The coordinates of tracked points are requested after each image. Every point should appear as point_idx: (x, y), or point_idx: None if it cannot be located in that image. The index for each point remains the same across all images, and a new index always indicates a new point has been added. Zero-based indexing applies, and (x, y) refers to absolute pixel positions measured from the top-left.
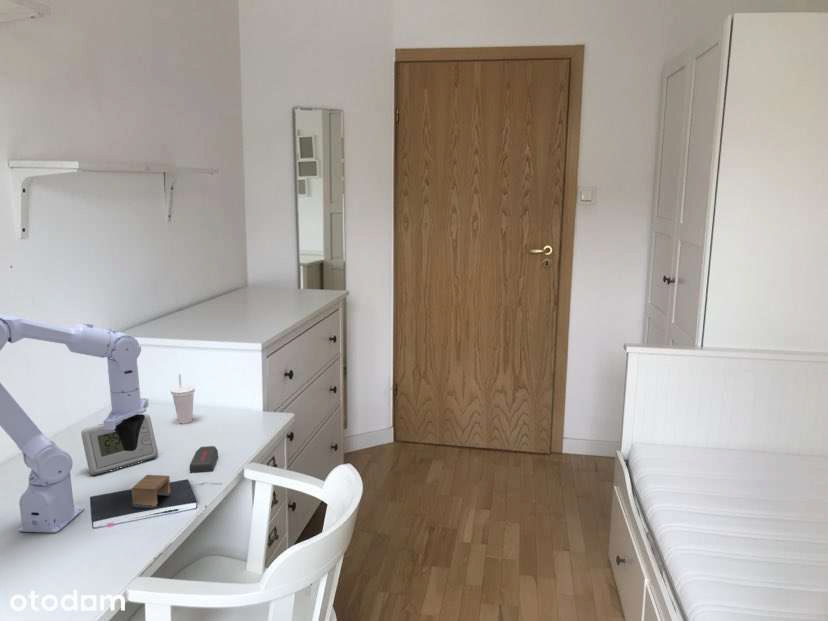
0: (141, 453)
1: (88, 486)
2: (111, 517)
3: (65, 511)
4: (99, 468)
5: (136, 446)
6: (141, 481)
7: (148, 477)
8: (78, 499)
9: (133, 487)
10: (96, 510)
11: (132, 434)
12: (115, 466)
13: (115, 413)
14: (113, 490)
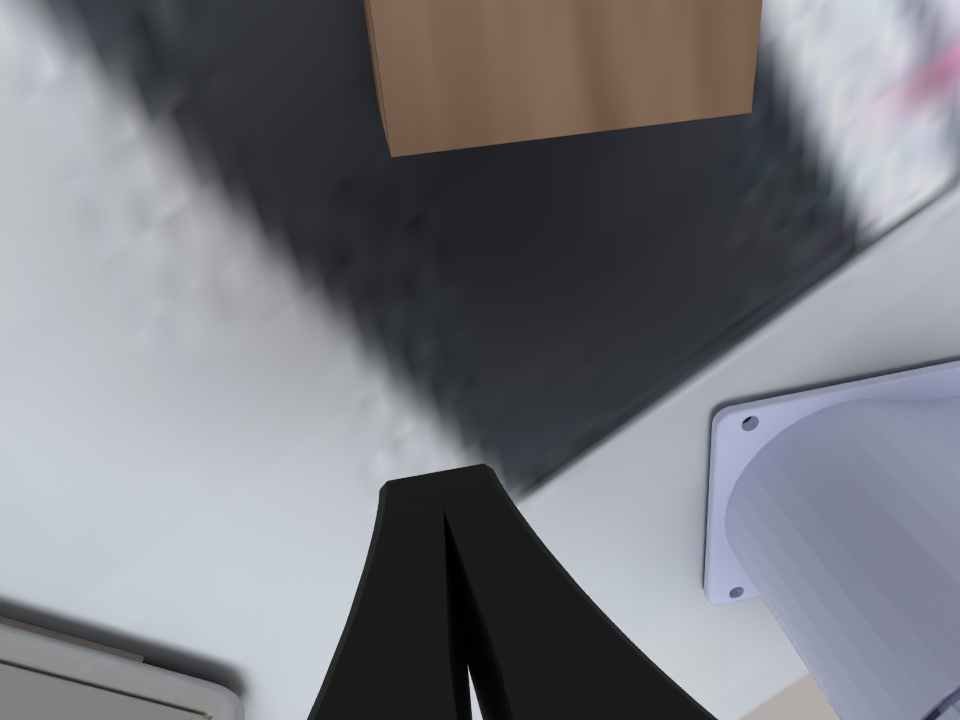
0: None
1: None
2: (821, 147)
3: (928, 435)
4: (195, 708)
5: (403, 498)
6: (577, 104)
7: (458, 88)
8: (567, 539)
9: (738, 95)
10: (711, 331)
11: (700, 711)
12: (83, 656)
13: None
14: (396, 431)
